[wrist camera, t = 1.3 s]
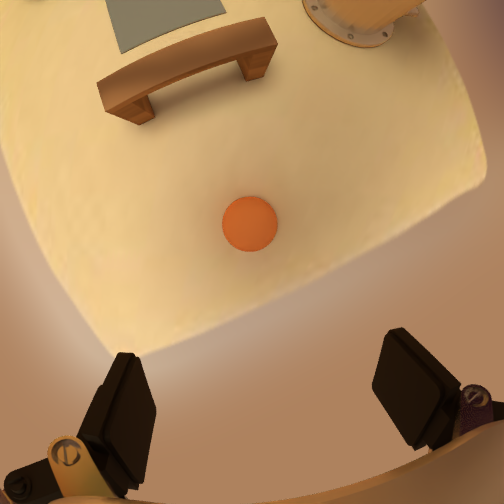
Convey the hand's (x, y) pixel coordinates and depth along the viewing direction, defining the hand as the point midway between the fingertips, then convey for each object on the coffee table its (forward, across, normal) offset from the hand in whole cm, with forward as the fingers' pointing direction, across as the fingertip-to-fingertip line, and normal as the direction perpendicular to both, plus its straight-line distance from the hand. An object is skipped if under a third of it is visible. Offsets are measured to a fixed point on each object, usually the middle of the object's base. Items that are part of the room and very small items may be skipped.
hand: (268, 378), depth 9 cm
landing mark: (+22, +9, -31) cm, 39 cm away
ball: (+20, -1, -2) cm, 20 cm away
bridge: (+22, +4, -17) cm, 28 cm away
